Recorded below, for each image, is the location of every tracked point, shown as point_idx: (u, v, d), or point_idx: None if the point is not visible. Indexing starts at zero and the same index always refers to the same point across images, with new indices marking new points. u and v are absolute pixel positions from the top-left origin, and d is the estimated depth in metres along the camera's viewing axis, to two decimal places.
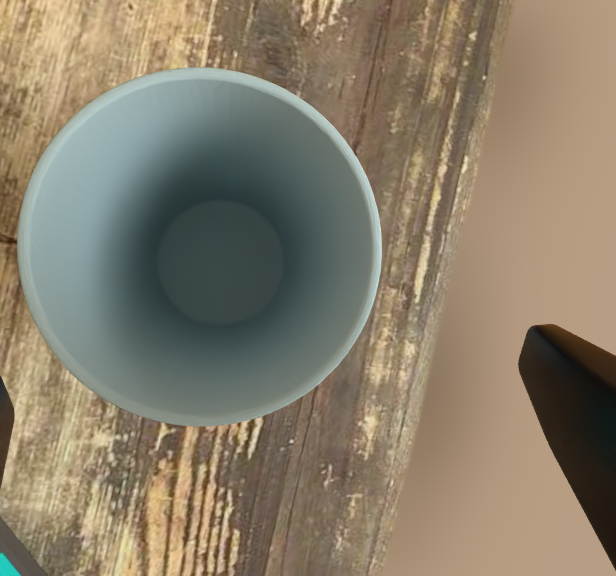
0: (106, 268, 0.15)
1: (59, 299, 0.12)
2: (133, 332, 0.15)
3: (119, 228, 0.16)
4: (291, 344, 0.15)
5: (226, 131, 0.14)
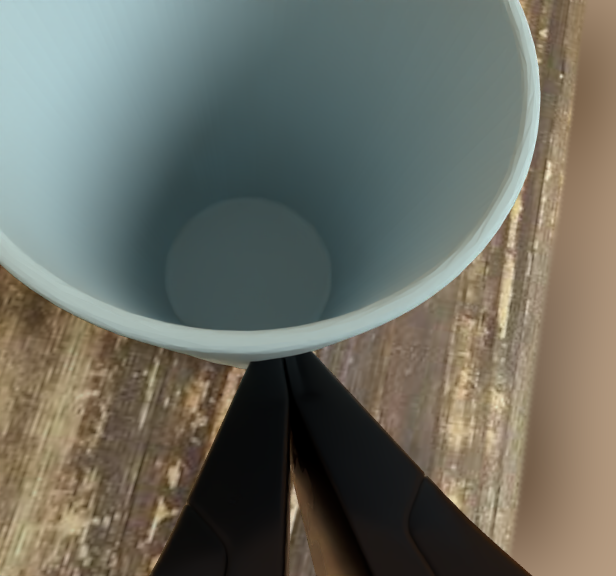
0: (88, 204, 0.10)
1: None
2: (118, 291, 0.10)
3: (114, 168, 0.11)
4: (368, 299, 0.09)
5: (270, 4, 0.10)
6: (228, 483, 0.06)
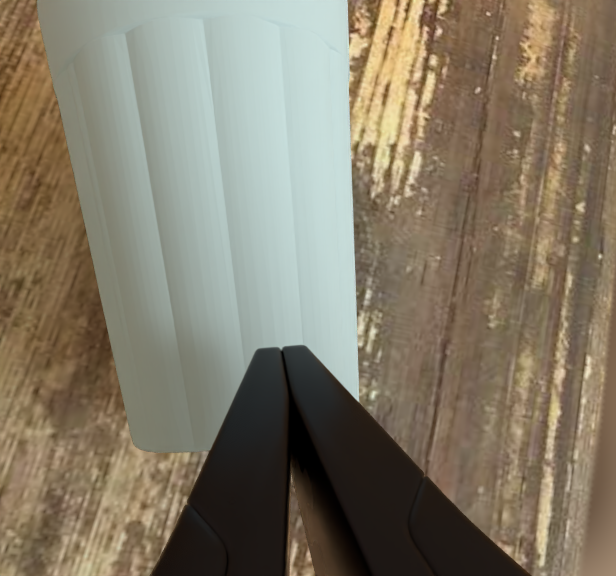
0: None
1: None
2: None
3: None
4: None
5: None
6: (228, 483, 0.06)
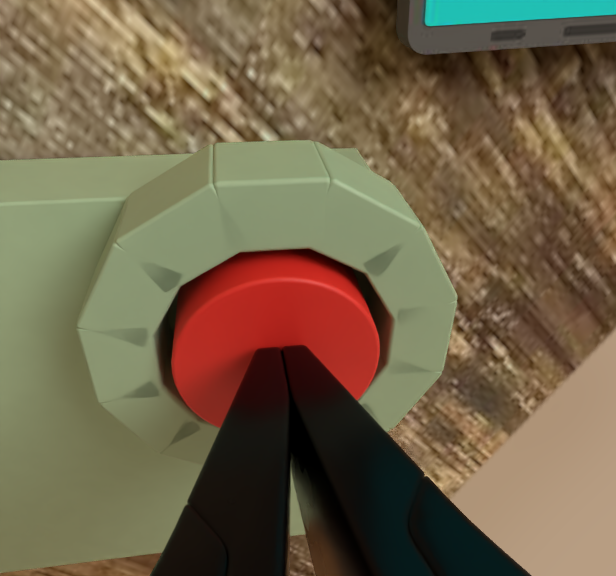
0: None
1: None
2: None
3: None
4: None
5: None
6: (229, 483, 0.06)
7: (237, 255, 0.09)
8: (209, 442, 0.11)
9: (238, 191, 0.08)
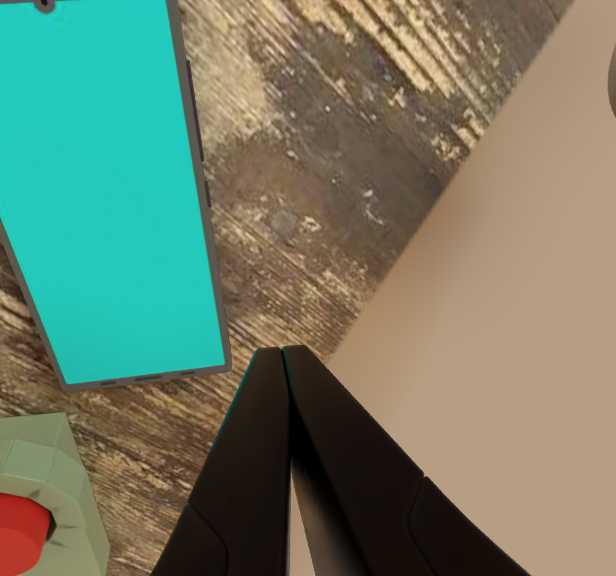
0: None
1: None
2: None
3: None
4: None
5: None
6: (228, 483, 0.06)
7: None
8: None
9: None
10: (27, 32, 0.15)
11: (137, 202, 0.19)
